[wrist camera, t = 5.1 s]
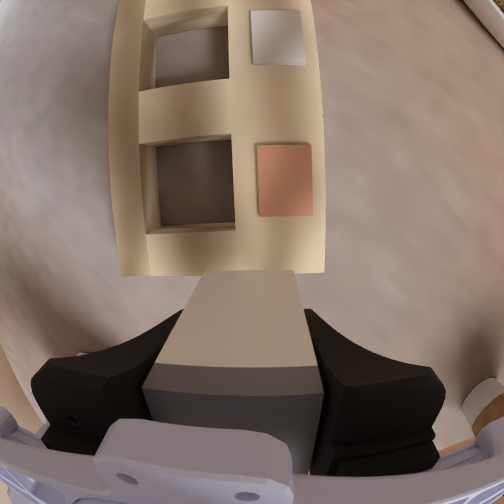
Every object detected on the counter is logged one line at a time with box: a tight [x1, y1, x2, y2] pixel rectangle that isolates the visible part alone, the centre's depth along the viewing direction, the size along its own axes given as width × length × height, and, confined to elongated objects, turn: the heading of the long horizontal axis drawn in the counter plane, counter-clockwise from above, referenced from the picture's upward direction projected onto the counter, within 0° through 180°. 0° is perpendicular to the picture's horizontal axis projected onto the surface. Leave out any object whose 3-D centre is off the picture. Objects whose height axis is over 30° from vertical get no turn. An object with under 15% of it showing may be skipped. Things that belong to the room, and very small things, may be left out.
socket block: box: [108, 0, 326, 276], centre depth 16 cm, size 13×20×3 cm, turn 2°
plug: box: [142, 269, 324, 475], centre depth 10 cm, size 4×4×8 cm
